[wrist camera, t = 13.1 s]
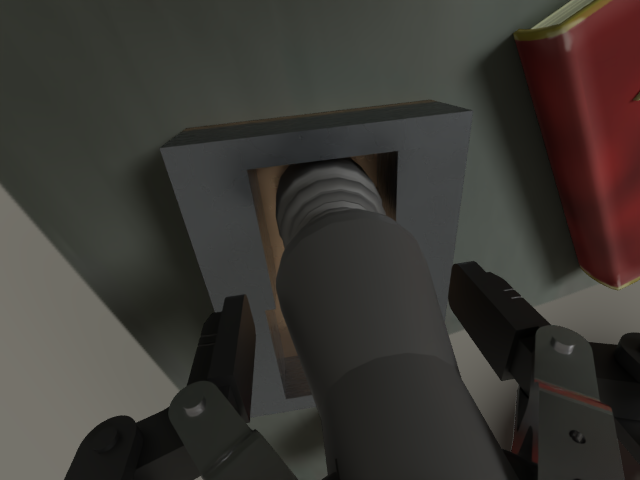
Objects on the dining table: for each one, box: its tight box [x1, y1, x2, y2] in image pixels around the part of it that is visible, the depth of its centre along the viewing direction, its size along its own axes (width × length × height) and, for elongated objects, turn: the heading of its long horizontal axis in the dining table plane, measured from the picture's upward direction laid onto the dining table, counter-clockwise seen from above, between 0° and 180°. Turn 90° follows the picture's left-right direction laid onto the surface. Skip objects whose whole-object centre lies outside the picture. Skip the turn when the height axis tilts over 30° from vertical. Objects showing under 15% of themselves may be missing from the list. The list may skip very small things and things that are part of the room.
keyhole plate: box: [160, 100, 473, 417], centre depth 23 cm, size 15×21×5 cm
